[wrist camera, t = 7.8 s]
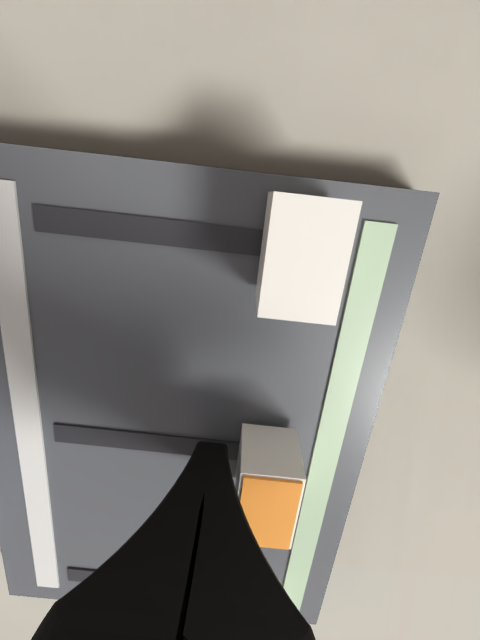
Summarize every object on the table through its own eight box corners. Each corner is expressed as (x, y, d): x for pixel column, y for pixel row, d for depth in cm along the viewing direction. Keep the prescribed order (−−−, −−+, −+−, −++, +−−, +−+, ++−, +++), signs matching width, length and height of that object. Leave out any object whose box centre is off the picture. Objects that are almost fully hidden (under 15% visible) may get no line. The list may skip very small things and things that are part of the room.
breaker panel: (27, 563, 18) (7, 597, 17) (-37, 141, 11) (-80, 133, 10) (310, 591, 18) (316, 626, 17) (416, 192, 12) (441, 192, 10)
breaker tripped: (233, 485, 14) (230, 546, 11) (242, 423, 13) (240, 475, 10) (284, 491, 14) (291, 552, 11) (296, 428, 13) (306, 481, 10)
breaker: (255, 291, 11) (257, 317, 9) (268, 191, 10) (273, 191, 8) (317, 298, 11) (335, 325, 9) (337, 199, 10) (362, 201, 8)
